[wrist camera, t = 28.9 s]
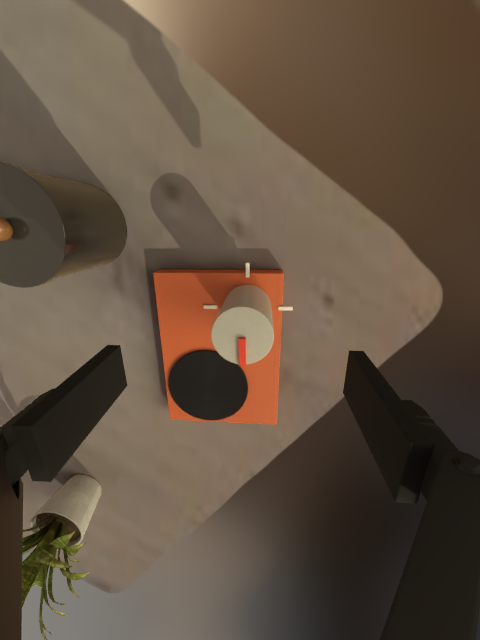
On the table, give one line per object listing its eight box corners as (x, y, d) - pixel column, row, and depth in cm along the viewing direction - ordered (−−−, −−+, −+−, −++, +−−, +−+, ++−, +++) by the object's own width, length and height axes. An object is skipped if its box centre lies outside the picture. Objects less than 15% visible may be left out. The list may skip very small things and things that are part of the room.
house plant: (130, 533, 44) (61, 696, 29) (47, 515, 45) (-65, 669, 29) (135, 468, 40) (54, 625, 24) (42, 449, 40) (-97, 592, 24)
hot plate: (158, 259, 29) (151, 262, 27) (292, 260, 28) (295, 263, 26) (174, 409, 35) (169, 420, 33) (284, 414, 34) (285, 426, 32)
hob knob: (223, 284, 27) (208, 307, 20) (271, 284, 27) (274, 307, 19) (225, 329, 29) (212, 366, 21) (270, 329, 28) (273, 367, 21)
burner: (165, 348, 30) (164, 349, 30) (248, 350, 29) (248, 352, 29) (172, 416, 33) (171, 418, 33) (248, 420, 33) (248, 422, 32)
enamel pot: (40, 182, 27) (-99, 157, 17) (122, 180, 27) (29, 153, 16) (60, 267, 30) (-49, 291, 20) (134, 267, 29) (62, 293, 19)
